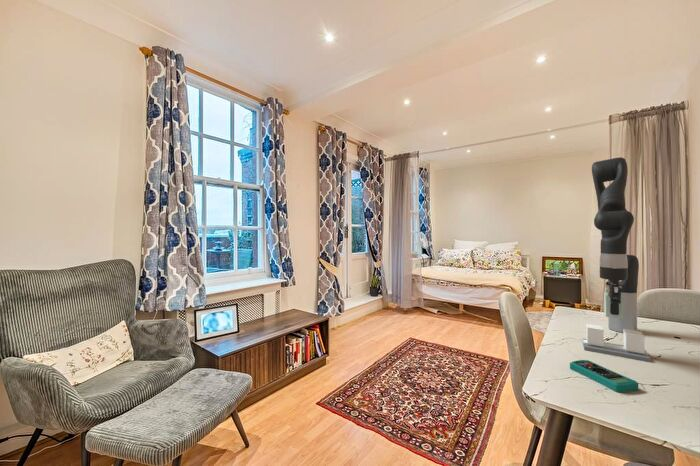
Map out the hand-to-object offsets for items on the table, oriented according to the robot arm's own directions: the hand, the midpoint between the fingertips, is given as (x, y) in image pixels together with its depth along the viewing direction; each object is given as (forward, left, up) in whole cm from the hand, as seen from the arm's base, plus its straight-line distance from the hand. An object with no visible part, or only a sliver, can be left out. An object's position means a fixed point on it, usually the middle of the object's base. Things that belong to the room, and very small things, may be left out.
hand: (613, 312), depth 105 cm
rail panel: (0, 0, -14) cm, 14 cm away
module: (0, 0, -1) cm, 1 cm away
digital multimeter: (+28, -6, -15) cm, 33 cm away
